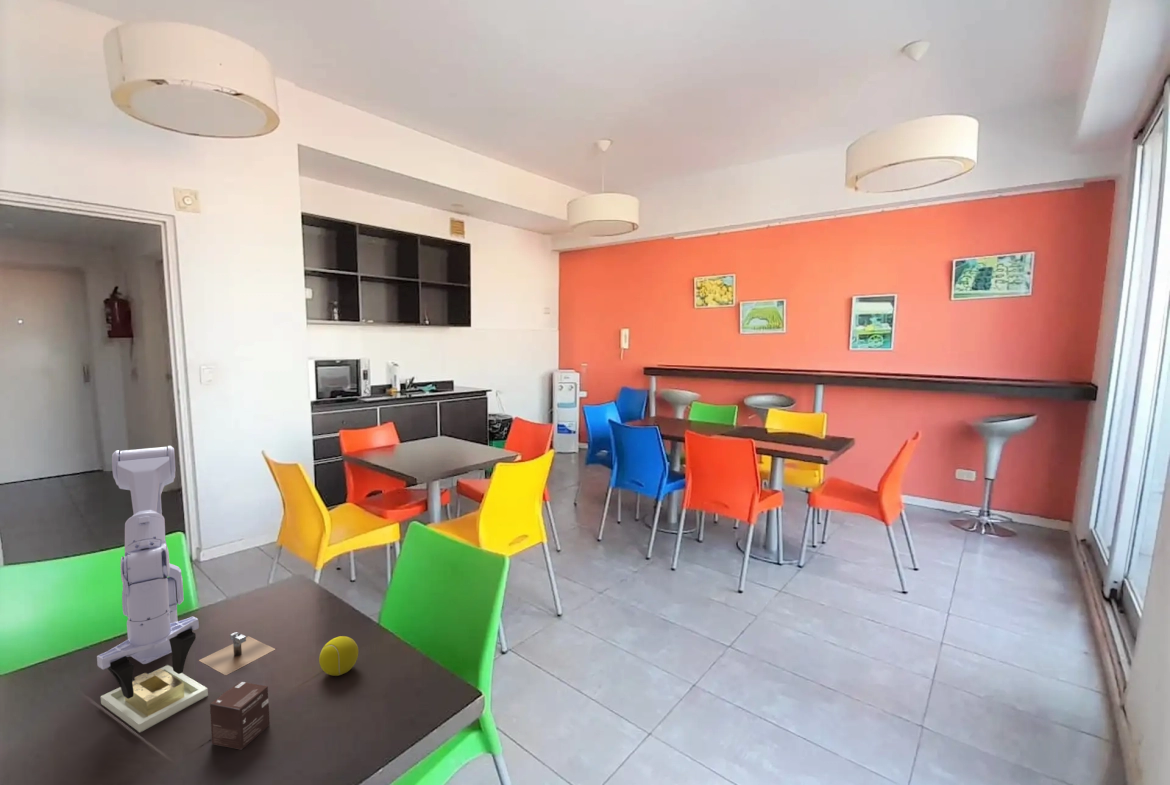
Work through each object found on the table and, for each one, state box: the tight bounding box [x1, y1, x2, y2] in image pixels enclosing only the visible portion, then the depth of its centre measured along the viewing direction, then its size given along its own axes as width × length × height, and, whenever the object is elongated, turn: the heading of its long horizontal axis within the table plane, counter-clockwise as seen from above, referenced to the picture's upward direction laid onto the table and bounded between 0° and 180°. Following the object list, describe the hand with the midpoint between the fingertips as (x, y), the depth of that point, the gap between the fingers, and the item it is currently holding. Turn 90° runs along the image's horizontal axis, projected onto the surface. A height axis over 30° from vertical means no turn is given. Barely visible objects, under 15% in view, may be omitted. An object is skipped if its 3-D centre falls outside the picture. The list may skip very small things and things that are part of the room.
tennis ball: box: [318, 635, 359, 677], centre depth 104 cm, size 7×7×7 cm
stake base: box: [198, 635, 276, 677], centre depth 108 cm, size 10×10×1 cm
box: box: [209, 681, 271, 750], centre depth 87 cm, size 6×6×7 cm
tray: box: [100, 664, 209, 734], centre depth 95 cm, size 14×10×2 cm
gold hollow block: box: [125, 668, 184, 717], centre depth 95 cm, size 6×10×3 cm, turn 62°
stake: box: [229, 631, 247, 657], centre depth 108 cm, size 4×1×4 cm, turn 63°
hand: (154, 683), depth 94 cm, fingers open, 7 cm apart
